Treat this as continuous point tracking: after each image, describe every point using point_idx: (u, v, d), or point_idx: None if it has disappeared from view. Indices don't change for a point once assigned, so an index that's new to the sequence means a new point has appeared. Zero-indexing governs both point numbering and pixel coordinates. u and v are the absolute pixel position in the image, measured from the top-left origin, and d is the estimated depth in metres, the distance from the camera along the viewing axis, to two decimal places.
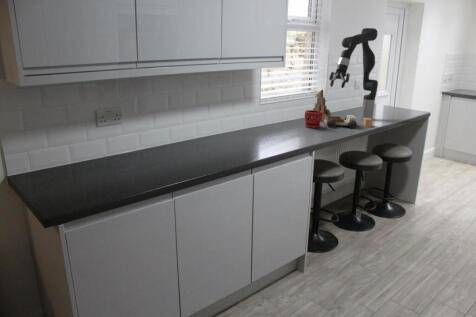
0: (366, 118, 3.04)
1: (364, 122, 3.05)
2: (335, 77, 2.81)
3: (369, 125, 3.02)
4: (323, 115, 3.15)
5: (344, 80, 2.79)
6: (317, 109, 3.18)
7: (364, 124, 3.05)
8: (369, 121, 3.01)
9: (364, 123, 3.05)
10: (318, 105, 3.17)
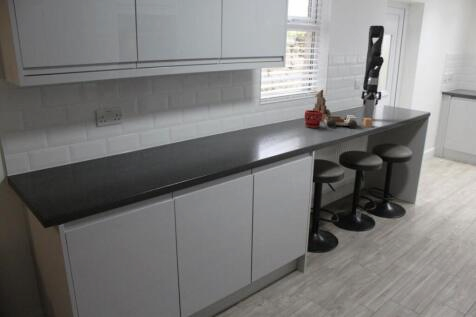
0: (366, 118, 3.05)
1: (364, 122, 3.05)
2: (368, 96, 2.98)
3: (369, 125, 3.02)
4: (323, 115, 3.15)
5: None
6: (317, 109, 3.18)
7: (364, 124, 3.05)
8: (369, 121, 3.01)
9: (364, 123, 3.05)
10: (318, 105, 3.17)
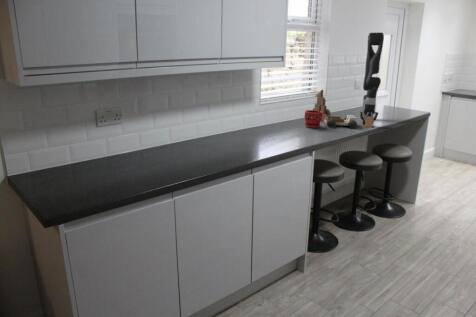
0: (366, 118, 3.04)
1: None
2: (366, 116, 3.02)
3: (369, 125, 3.02)
4: (323, 115, 3.15)
5: None
6: (317, 109, 3.18)
7: None
8: (369, 121, 3.01)
9: None
10: (318, 105, 3.17)
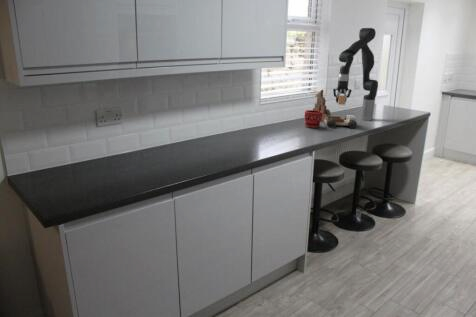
0: (339, 95, 2.98)
1: None
2: (340, 93, 2.96)
3: (342, 102, 2.95)
4: (323, 115, 3.15)
5: None
6: (317, 109, 3.18)
7: None
8: (342, 98, 2.95)
9: None
10: (318, 105, 3.17)
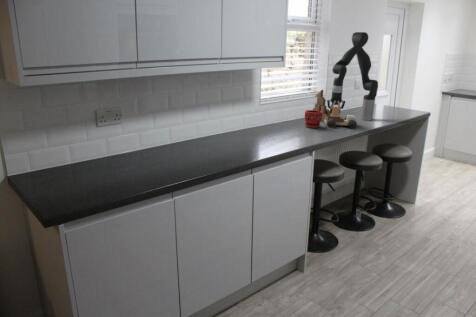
0: (333, 107, 3.01)
1: None
2: (334, 104, 2.99)
3: (336, 114, 2.98)
4: (323, 115, 3.15)
5: (339, 106, 3.01)
6: (317, 109, 3.18)
7: None
8: (336, 109, 2.98)
9: None
10: (318, 105, 3.17)
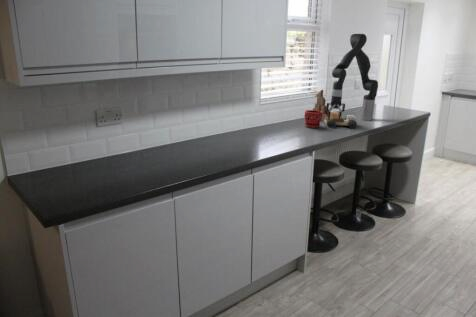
0: (333, 113, 3.03)
1: (331, 117, 3.03)
2: (332, 108, 3.00)
3: None
4: (323, 115, 3.15)
5: None
6: (317, 109, 3.18)
7: None
8: (335, 115, 2.99)
9: (331, 118, 3.03)
10: (318, 105, 3.17)
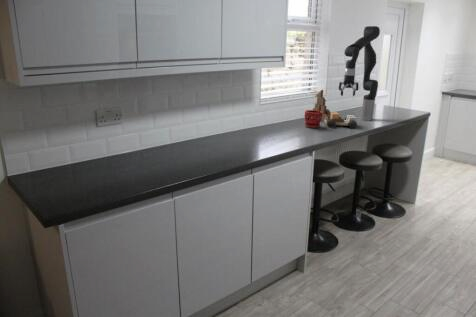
0: (333, 113, 3.03)
1: (331, 117, 3.03)
2: (345, 87, 2.96)
3: None
4: (323, 115, 3.15)
5: None
6: (317, 109, 3.18)
7: None
8: (335, 115, 2.99)
9: (331, 118, 3.03)
10: (318, 105, 3.17)
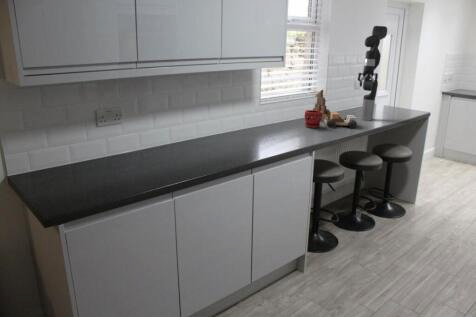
0: (333, 113, 3.03)
1: (331, 117, 3.03)
2: (364, 78, 2.96)
3: None
4: (323, 115, 3.15)
5: None
6: (317, 109, 3.18)
7: None
8: (335, 115, 2.99)
9: (331, 118, 3.03)
10: (318, 105, 3.17)
